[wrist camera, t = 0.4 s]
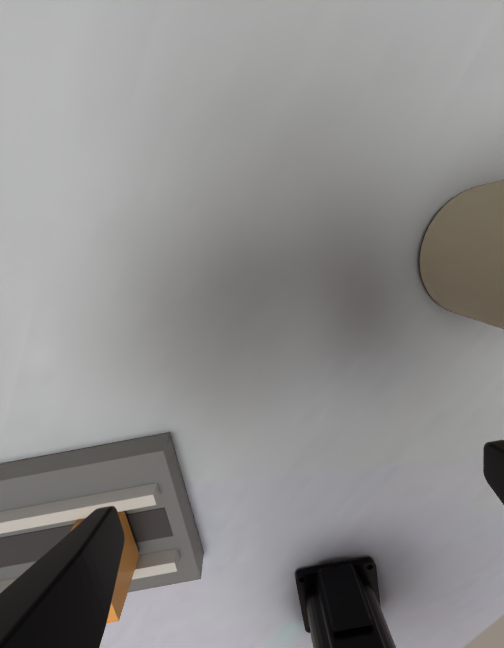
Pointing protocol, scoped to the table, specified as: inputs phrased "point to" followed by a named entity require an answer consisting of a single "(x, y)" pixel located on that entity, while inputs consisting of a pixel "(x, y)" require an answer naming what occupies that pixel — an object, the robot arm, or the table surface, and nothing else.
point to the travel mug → (468, 255)
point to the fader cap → (122, 569)
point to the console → (101, 491)
